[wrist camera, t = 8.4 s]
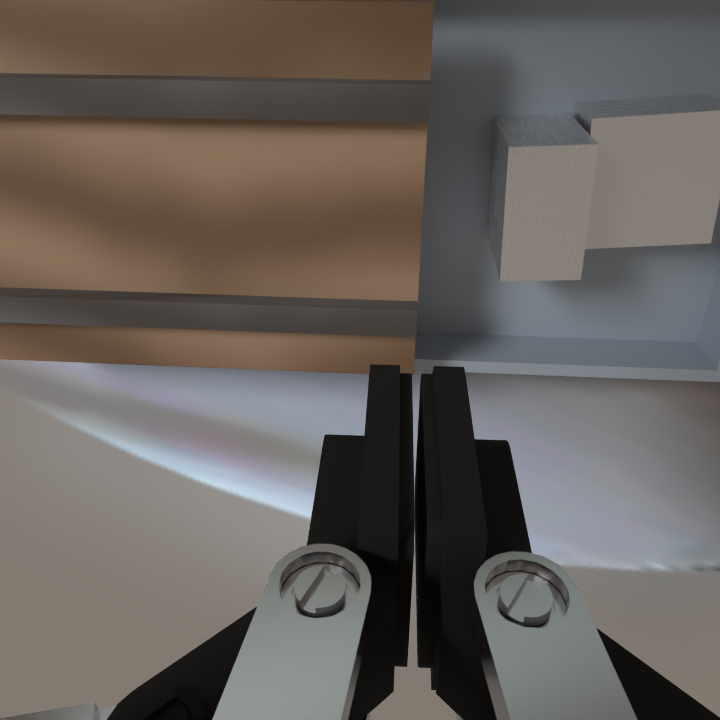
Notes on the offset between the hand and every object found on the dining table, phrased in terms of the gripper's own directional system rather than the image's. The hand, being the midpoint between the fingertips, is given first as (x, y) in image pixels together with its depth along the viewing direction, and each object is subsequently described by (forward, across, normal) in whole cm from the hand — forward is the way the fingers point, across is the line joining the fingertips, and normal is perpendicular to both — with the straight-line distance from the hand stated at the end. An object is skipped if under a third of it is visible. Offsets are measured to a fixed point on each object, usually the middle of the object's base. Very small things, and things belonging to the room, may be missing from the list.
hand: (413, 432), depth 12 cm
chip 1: (+16, -4, +1) cm, 17 cm away
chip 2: (+16, -9, 0) cm, 18 cm away
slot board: (+19, +9, +1) cm, 22 cm away
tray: (+19, -6, +1) cm, 20 cm away
